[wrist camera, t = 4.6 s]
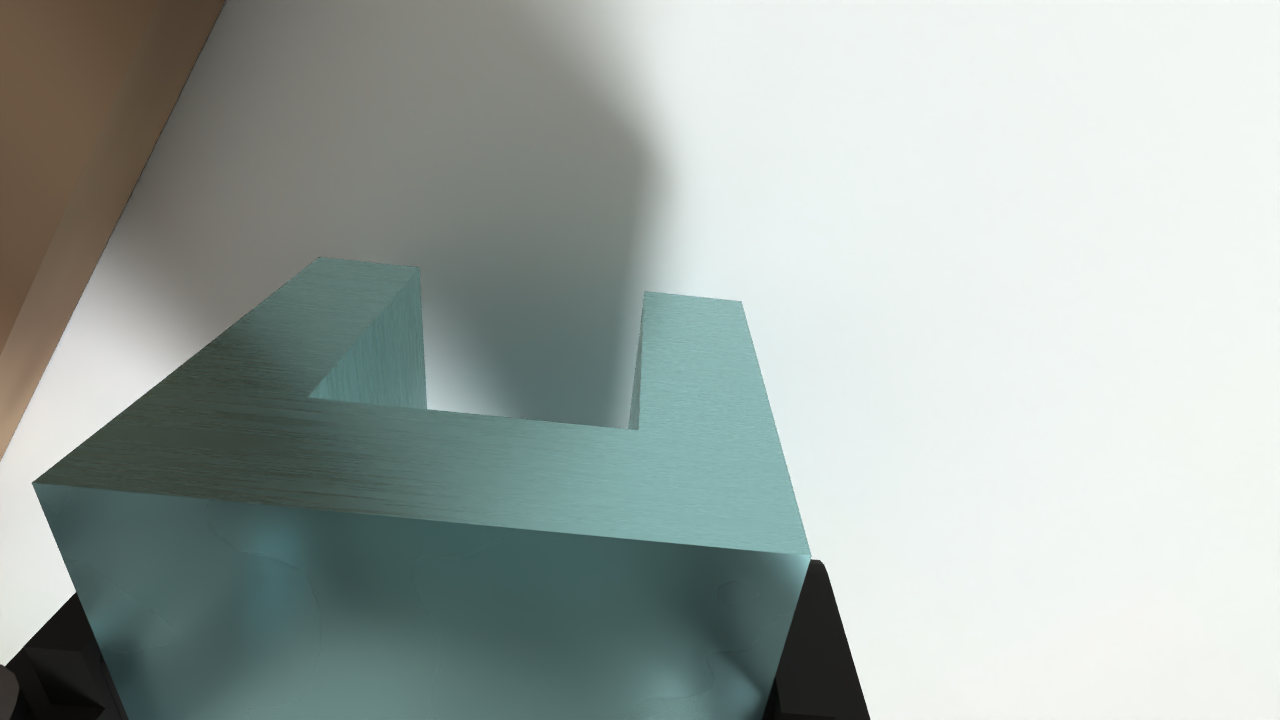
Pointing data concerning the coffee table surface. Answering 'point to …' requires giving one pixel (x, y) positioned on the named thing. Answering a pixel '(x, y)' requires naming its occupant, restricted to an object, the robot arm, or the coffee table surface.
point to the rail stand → (75, 153)
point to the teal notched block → (432, 528)
